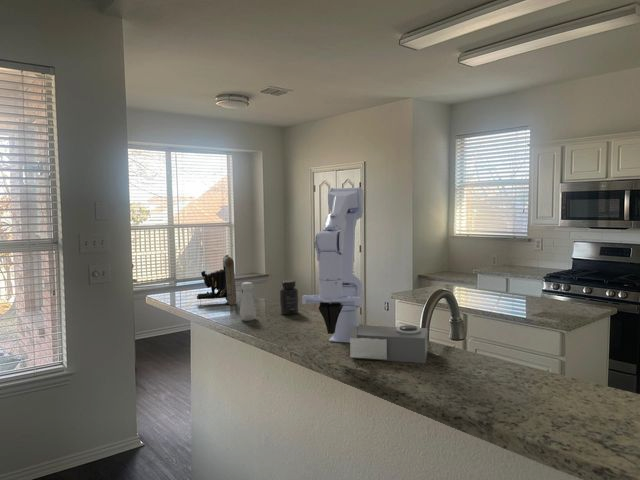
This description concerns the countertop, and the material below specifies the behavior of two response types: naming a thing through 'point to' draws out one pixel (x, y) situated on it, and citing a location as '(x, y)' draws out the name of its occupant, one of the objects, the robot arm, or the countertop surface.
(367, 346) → the side door
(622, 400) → the countertop surface
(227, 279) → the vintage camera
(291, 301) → the supplement bottle
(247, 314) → the salt shaker
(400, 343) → the camera housing
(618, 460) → the countertop surface
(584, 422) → the countertop surface
